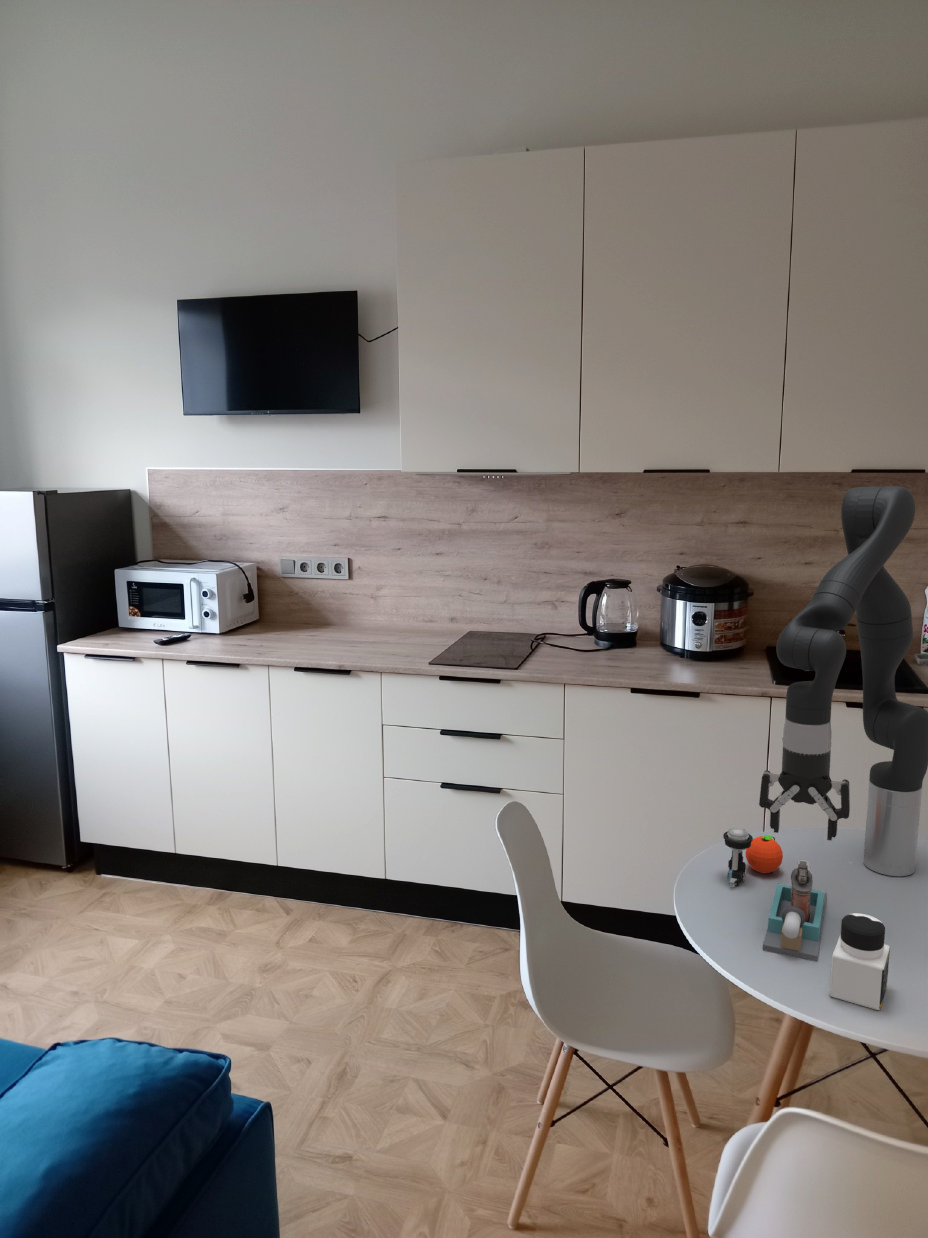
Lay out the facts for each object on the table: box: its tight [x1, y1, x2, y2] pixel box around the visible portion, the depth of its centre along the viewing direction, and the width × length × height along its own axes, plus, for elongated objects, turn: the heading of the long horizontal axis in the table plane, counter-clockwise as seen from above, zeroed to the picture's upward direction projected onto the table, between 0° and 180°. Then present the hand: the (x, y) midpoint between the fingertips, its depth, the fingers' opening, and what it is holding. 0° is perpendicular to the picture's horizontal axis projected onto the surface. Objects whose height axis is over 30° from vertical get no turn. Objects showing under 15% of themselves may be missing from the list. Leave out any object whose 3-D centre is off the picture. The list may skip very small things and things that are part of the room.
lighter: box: [791, 860, 813, 923], centre depth 155 cm, size 8×3×10 cm, turn 159°
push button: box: [722, 827, 754, 888], centre depth 170 cm, size 7×5×10 cm
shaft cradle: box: [762, 859, 828, 962], centre depth 156 cm, size 24×8×7 cm, turn 155°
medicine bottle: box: [829, 912, 891, 1011], centre depth 136 cm, size 7×7×12 cm
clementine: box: [745, 834, 784, 874], centre depth 175 cm, size 8×7×7 cm
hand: (802, 834), depth 153 cm, fingers open, 8 cm apart
